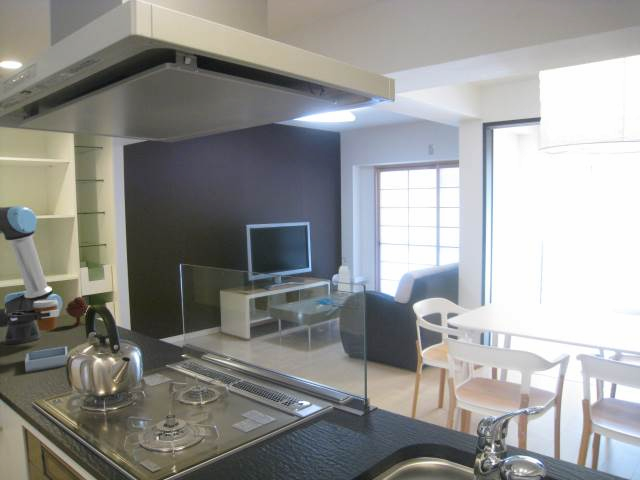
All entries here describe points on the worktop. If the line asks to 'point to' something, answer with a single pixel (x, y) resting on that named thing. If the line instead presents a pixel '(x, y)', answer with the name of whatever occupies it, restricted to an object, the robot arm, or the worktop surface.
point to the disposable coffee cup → (46, 306)
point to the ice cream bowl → (77, 309)
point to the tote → (45, 359)
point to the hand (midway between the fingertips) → (58, 310)
